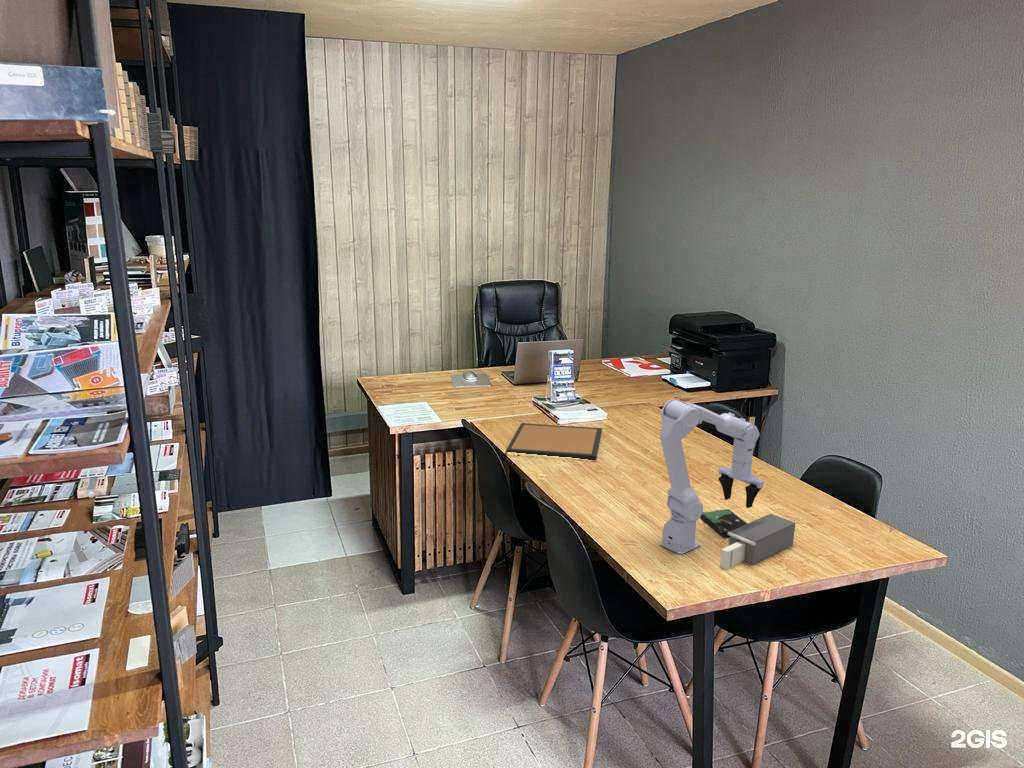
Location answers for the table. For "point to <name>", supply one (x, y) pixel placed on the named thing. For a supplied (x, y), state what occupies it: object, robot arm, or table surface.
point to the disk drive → (722, 521)
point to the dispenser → (764, 537)
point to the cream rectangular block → (733, 554)
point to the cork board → (556, 441)
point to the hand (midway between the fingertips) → (738, 502)
